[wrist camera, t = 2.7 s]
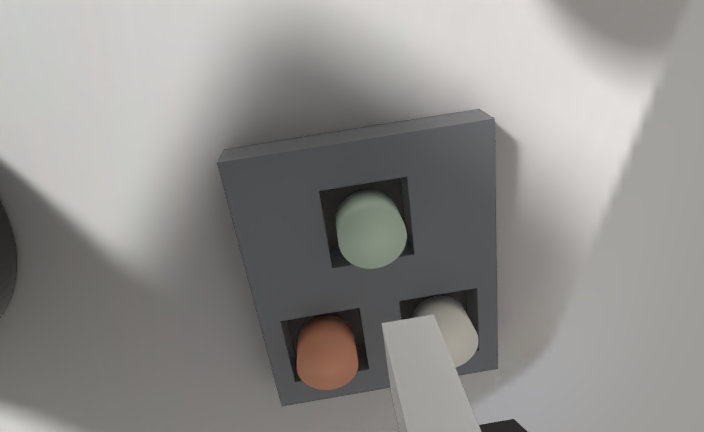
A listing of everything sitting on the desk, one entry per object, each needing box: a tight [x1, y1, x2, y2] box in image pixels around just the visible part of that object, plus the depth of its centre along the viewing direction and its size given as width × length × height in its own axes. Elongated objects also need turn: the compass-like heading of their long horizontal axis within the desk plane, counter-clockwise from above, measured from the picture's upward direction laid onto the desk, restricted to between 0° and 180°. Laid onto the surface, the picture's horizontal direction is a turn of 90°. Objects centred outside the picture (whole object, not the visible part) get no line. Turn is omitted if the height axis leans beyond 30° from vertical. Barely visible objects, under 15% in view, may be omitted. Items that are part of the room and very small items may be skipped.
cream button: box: [410, 296, 479, 368], centre depth 25 cm, size 3×3×2 cm
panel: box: [217, 109, 498, 406], centre depth 24 cm, size 12×14×2 cm
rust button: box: [297, 315, 358, 390], centre depth 24 cm, size 3×3×2 cm
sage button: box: [335, 189, 407, 269], centre depth 22 cm, size 3×3×2 cm
